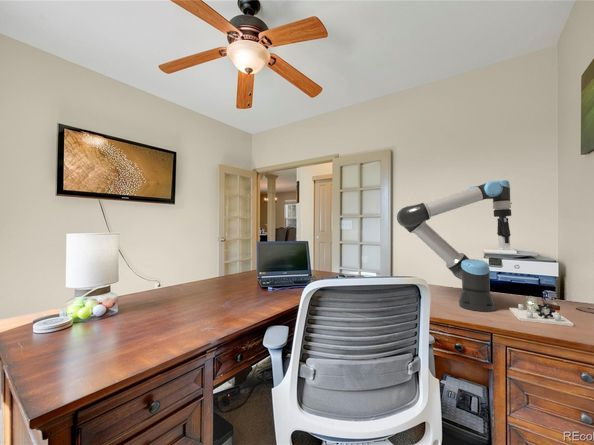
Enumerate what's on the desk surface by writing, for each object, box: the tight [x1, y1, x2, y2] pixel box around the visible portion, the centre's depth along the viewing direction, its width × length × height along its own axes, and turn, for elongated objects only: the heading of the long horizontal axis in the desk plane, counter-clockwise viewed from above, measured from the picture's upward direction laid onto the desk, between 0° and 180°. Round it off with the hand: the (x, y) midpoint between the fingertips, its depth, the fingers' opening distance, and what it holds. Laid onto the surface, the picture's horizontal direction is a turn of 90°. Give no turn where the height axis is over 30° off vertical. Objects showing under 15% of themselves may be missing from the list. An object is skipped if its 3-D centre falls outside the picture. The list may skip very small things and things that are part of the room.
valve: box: [525, 295, 557, 319], centre depth 117 cm, size 7×7×12 cm
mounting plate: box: [509, 303, 574, 327], centre depth 116 cm, size 17×16×4 cm
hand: (504, 248), depth 141 cm, fingers open, 13 cm apart
